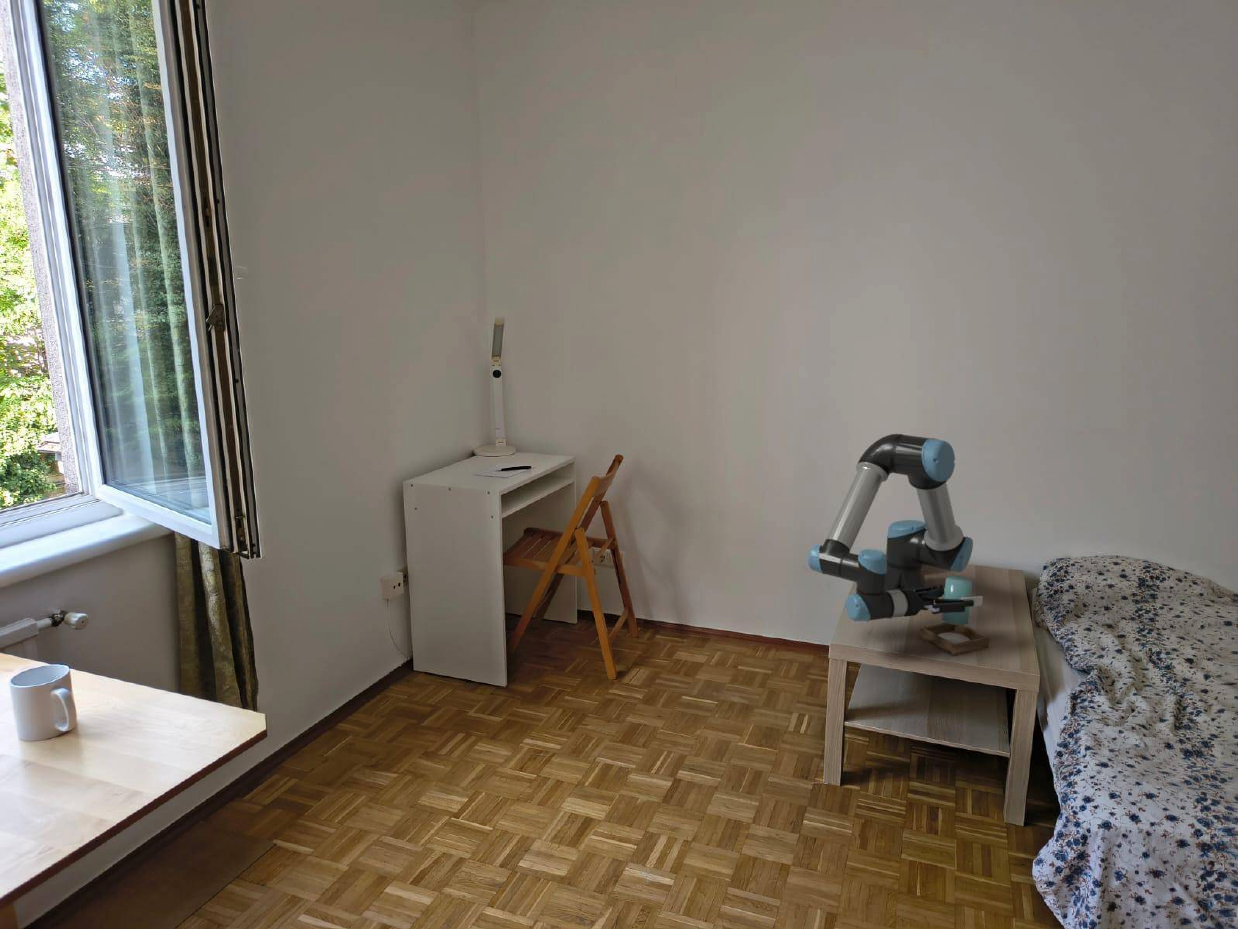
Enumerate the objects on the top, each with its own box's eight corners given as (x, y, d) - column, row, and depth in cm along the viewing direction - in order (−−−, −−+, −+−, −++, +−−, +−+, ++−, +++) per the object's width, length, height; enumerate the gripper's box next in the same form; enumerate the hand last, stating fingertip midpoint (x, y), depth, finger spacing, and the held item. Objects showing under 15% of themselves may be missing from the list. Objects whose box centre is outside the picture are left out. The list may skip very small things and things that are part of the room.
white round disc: (930, 637, 246) (930, 636, 246) (953, 631, 250) (954, 630, 250) (953, 650, 238) (953, 648, 238) (977, 644, 242) (977, 642, 242)
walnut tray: (919, 637, 247) (920, 628, 247) (953, 629, 252) (954, 620, 252) (953, 656, 236) (954, 646, 235) (988, 647, 241) (989, 637, 240)
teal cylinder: (936, 617, 244) (940, 578, 241) (954, 613, 247) (958, 574, 244) (955, 627, 238) (959, 586, 235) (973, 622, 240) (978, 583, 238)
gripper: (880, 602, 247) (950, 595, 252) (920, 630, 228) (994, 621, 233) (882, 578, 245) (952, 571, 250) (922, 604, 226) (997, 596, 231)
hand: (972, 595), depth 242 cm, fingers closed on teal cylinder, 7 cm apart
